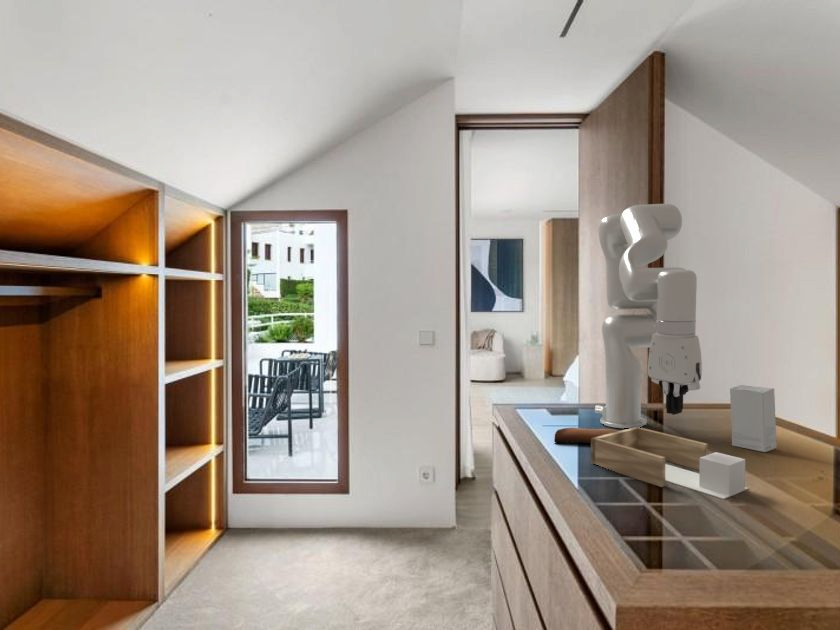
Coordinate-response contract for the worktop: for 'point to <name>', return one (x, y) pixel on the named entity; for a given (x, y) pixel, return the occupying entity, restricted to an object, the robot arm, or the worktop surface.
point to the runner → (690, 481)
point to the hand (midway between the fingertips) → (674, 412)
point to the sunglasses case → (579, 434)
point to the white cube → (722, 473)
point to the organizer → (645, 453)
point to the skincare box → (753, 418)
